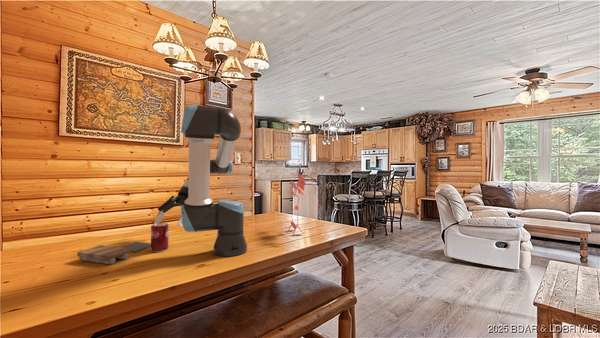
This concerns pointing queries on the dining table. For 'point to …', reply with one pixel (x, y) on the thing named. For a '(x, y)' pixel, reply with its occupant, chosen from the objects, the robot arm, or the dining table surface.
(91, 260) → the slab on rollers
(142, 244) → the mat
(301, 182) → the figurine
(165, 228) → the soda can
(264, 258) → the dining table surface
